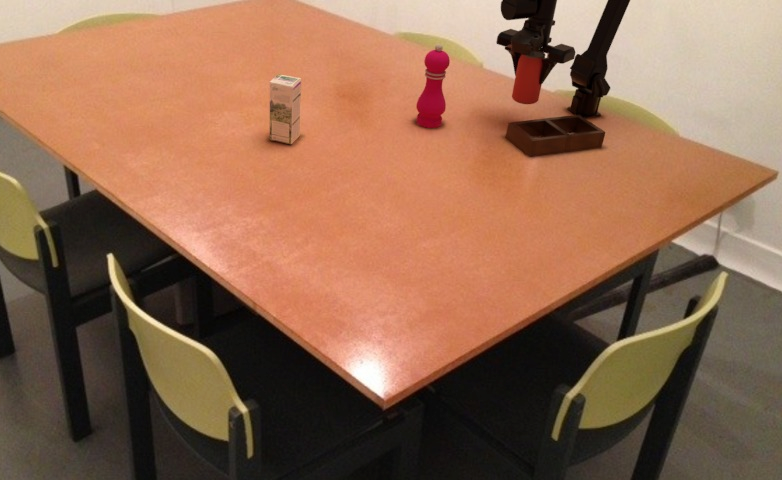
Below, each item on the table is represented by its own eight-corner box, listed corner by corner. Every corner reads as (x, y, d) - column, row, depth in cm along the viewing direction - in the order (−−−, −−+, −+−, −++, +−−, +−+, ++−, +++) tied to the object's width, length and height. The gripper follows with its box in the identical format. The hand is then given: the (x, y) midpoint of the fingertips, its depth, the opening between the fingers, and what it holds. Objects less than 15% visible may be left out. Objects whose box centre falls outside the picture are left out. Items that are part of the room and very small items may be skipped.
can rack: (575, 129, 196) (578, 114, 193) (601, 147, 187) (605, 132, 185) (505, 137, 189) (508, 122, 187) (529, 156, 181) (532, 140, 178)
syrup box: (300, 136, 183) (302, 76, 175) (291, 145, 179) (292, 85, 170) (278, 131, 185) (279, 72, 176) (268, 141, 180) (268, 81, 172)
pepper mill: (441, 130, 190) (453, 50, 179) (412, 126, 191) (422, 47, 180) (444, 119, 196) (455, 41, 185) (416, 115, 197) (425, 37, 186)
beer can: (508, 95, 196) (516, 48, 189) (533, 95, 196) (543, 48, 189) (515, 105, 190) (524, 57, 183) (541, 105, 191) (551, 58, 184)
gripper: (488, 12, 182) (478, 76, 190) (558, 32, 171) (544, 99, 180) (514, 4, 188) (503, 67, 197) (583, 23, 178) (568, 88, 187)
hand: (528, 80), depth 190 cm, fingers closed on beer can, 6 cm apart
